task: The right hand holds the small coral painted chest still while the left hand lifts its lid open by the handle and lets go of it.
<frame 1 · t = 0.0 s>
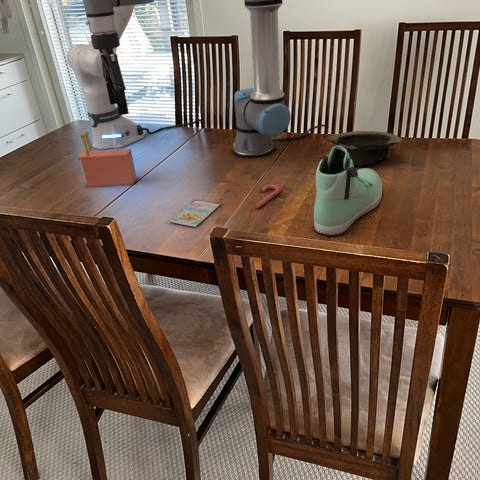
left hand: (0, 32, 160), 48 cm above the table, tool pointing down, fingers open, 8 cm apart
right hand: (119, 108, 144), 28 cm above the table, tool pointing down, fingers open, 13 cm apart
candy cane: (265, 198, 148), on the table
baking ingredient package: (195, 214, 143), on the table
chest: (112, 182, 167), on the table
sneaker: (348, 208, 139), on the table
lid: (102, 143, 160), point 14 cm above the table, hinge at 0.0°
dark brown hat: (362, 157, 171), on the table
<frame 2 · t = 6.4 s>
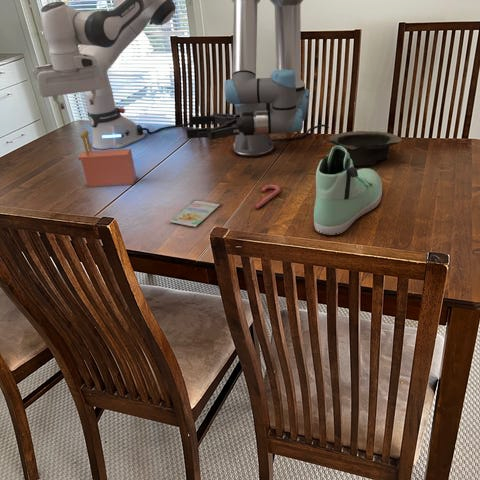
left hand: (77, 106, 154), 27 cm above the table, tool pointing down, fingers open, 8 cm apart
right hand: (189, 127, 156), 18 cm above the table, tool horizontal, fingers open, 13 cm apart
nothing on the table moved.
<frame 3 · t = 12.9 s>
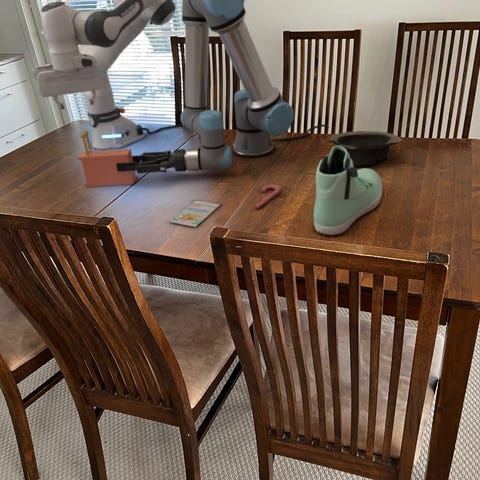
left hand: (77, 106, 154), 27 cm above the table, tool pointing down, fingers open, 8 cm apart
right hand: (119, 164, 164), 7 cm above the table, tool horizontal, fingers closed on chest, 5 cm apart
chest: (112, 182, 167), on the table, touching right hand
everything else where it was.
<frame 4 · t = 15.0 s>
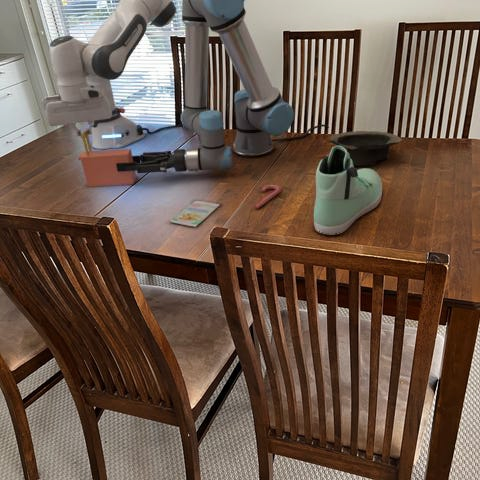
left hand: (84, 134, 158), 17 cm above the table, tool pointing down, fingers closed on lid, 2 cm apart
right hand: (119, 164, 164), 7 cm above the table, tool horizontal, fingers closed on chest, 5 cm apart
chest: (112, 182, 167), on the table, touching right hand
lid: (102, 143, 160), point 14 cm above the table, hinge at -0.1°, touching left hand
everything else where it was.
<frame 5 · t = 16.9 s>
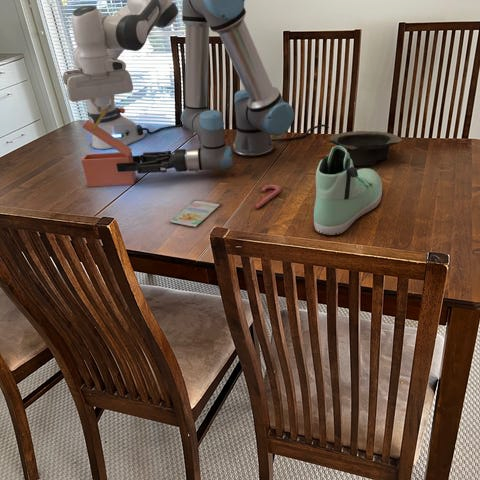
left hand: (104, 110, 154), 25 cm above the table, tool pointing down, fingers closed on lid, 2 cm apart
right hand: (119, 164, 163), 7 cm above the table, tool horizontal, fingers closed on chest, 5 cm apart
chest: (112, 182, 167), on the table, touching right hand
lid: (113, 129, 157), point 19 cm above the table, hinge at 41.4°, touching left hand
everything else where it was.
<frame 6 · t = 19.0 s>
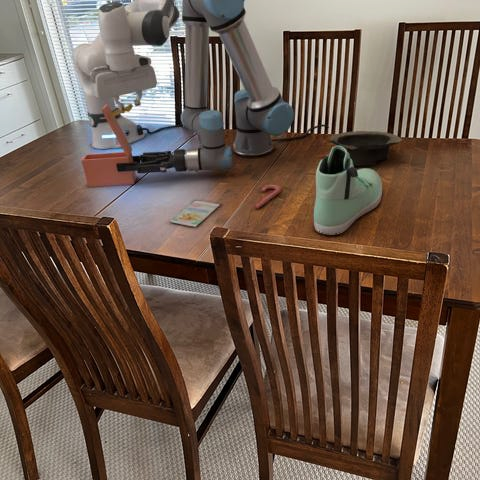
left hand: (129, 107, 153), 26 cm above the table, tool pointing down, fingers open, 4 cm apart
right hand: (119, 164, 164), 7 cm above the table, tool horizontal, fingers closed on chest, 5 cm apart
chest: (112, 182, 167), on the table, touching right hand
lid: (127, 126, 157), point 19 cm above the table, hinge at 72.6°, touching left hand
everything else where it was.
when the right hand's fingers open (7 cm above the table, at t = 22.2 s): chest stays where it is, on the table.
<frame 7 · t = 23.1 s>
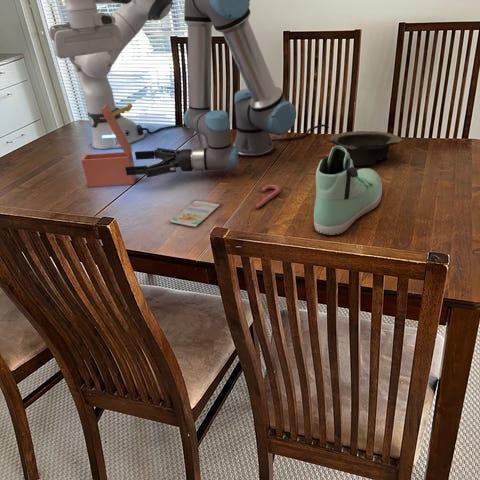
left hand: (94, 69, 147), 38 cm above the table, tool pointing down, fingers open, 8 cm apart
right hand: (131, 163, 164), 7 cm above the table, tool horizontal, fingers open, 13 cm apart
chest: (112, 182, 167), on the table
lid: (127, 126, 157), point 20 cm above the table, hinge at 71.9°
everything else where it was.
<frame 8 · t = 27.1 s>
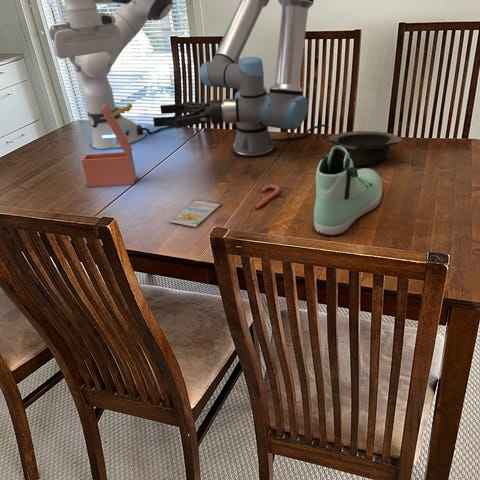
left hand: (94, 69, 147), 38 cm above the table, tool pointing down, fingers open, 8 cm apart
right hand: (157, 115, 155), 22 cm above the table, tool horizontal, fingers open, 13 cm apart
nothing on the table moved.
at the end: lid at +72° (first picture: +0°); the left hand is holding nothing; the right hand is holding nothing; chest tilted 0°; chest never tilted more than 2° during the clip; chest moved 0.1 cm from its start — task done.
